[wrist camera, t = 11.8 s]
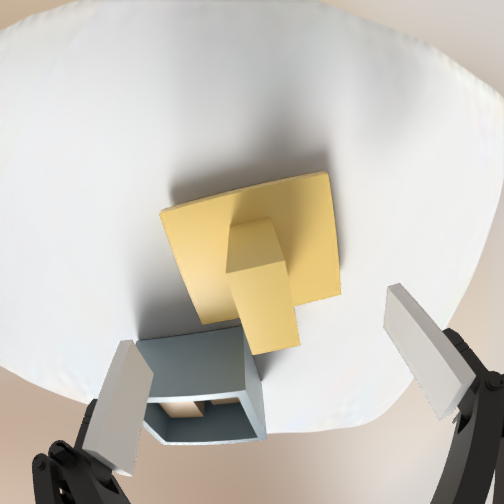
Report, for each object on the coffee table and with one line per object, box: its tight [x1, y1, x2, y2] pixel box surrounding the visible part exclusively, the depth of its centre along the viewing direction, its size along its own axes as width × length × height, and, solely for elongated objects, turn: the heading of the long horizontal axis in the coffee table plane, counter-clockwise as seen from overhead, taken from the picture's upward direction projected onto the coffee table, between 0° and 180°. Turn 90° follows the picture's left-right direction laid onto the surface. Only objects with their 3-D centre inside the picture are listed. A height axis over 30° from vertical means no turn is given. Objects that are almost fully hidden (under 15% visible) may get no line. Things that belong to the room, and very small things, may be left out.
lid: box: [159, 171, 341, 355], centre depth 19 cm, size 13×11×9 cm
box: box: [136, 326, 267, 445], centre depth 25 cm, size 12×10×8 cm
